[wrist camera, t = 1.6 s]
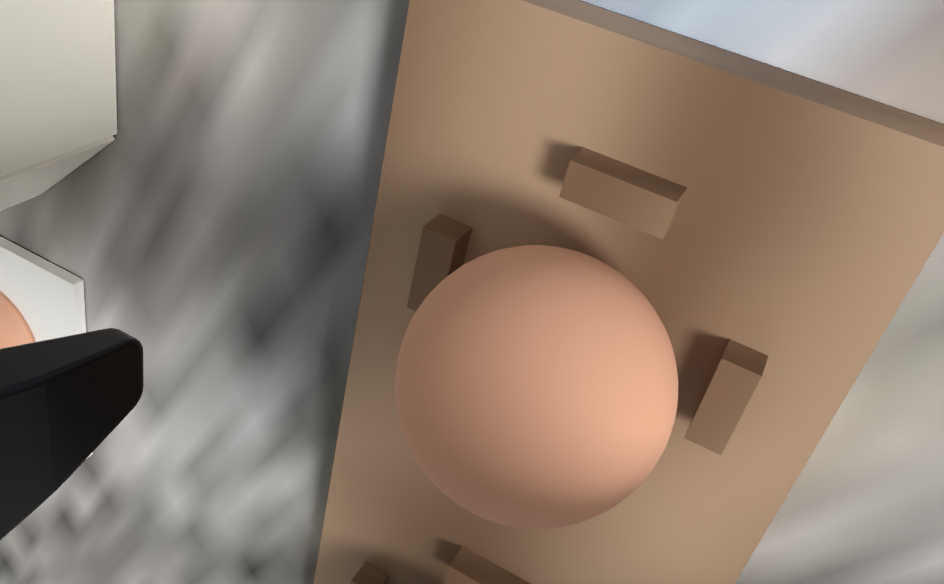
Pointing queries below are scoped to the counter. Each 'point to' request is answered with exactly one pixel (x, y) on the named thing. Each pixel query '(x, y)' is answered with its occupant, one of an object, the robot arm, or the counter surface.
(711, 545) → the stand
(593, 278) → the ball terracotta
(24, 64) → the cup
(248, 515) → the counter surface
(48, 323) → the tile
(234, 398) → the counter surface
